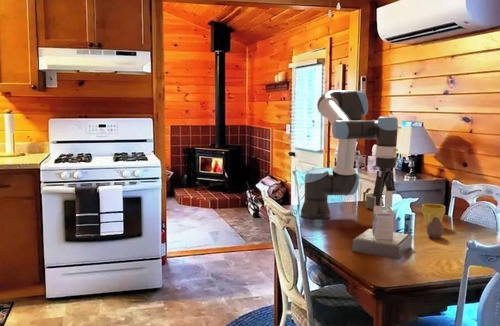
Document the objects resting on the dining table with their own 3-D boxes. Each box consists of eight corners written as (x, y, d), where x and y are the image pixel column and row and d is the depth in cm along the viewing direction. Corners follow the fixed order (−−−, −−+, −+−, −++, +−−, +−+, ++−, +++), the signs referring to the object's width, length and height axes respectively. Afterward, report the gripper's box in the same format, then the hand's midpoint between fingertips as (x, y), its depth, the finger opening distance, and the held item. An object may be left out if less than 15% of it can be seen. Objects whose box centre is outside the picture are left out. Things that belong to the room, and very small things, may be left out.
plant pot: (417, 223, 238) (418, 203, 237) (438, 223, 239) (439, 203, 238) (426, 228, 228) (428, 208, 227) (448, 228, 229) (449, 207, 227)
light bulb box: (371, 232, 201) (373, 206, 199) (388, 232, 200) (390, 206, 199) (375, 239, 190) (376, 212, 189) (393, 240, 190) (394, 212, 188)
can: (388, 206, 276) (389, 194, 275) (386, 210, 265) (386, 198, 264) (367, 204, 280) (367, 192, 280) (363, 208, 269) (364, 196, 269)
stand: (352, 251, 193) (352, 237, 192) (367, 240, 208) (367, 227, 208) (398, 259, 184) (399, 245, 183) (410, 247, 199) (411, 234, 198)
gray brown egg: (442, 236, 216) (444, 216, 215) (443, 240, 210) (444, 220, 208) (426, 234, 218) (427, 215, 217) (426, 238, 212) (427, 218, 211)
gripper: (386, 161, 179) (383, 218, 182) (404, 154, 200) (401, 205, 203) (365, 159, 183) (363, 215, 186) (385, 152, 204) (383, 202, 207)
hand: (383, 210), depth 194 cm, fingers open, 13 cm apart
